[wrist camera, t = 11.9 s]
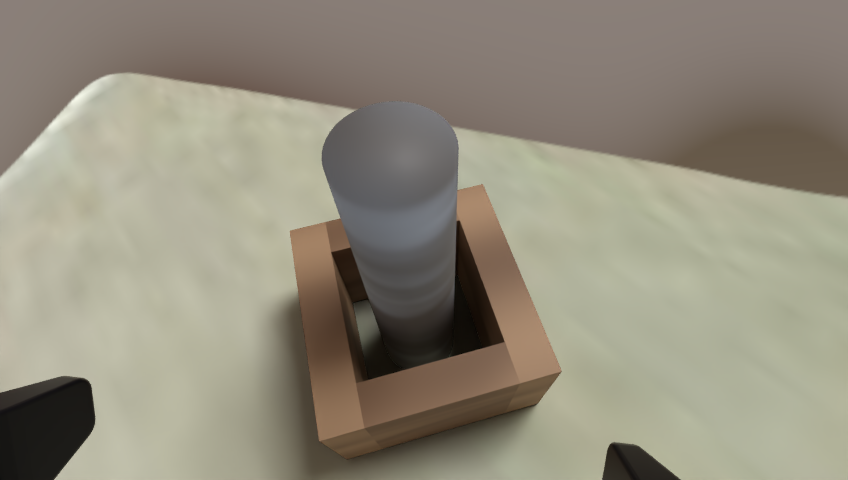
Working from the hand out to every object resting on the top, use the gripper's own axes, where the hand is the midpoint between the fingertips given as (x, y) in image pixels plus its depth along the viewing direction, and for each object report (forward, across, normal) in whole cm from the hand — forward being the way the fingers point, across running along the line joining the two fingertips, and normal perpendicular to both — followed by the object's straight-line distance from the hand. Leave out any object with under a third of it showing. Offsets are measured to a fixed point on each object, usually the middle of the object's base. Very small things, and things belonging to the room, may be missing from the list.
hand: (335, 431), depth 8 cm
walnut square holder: (+14, 0, +5) cm, 14 cm away
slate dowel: (+14, 0, +5) cm, 14 cm away
